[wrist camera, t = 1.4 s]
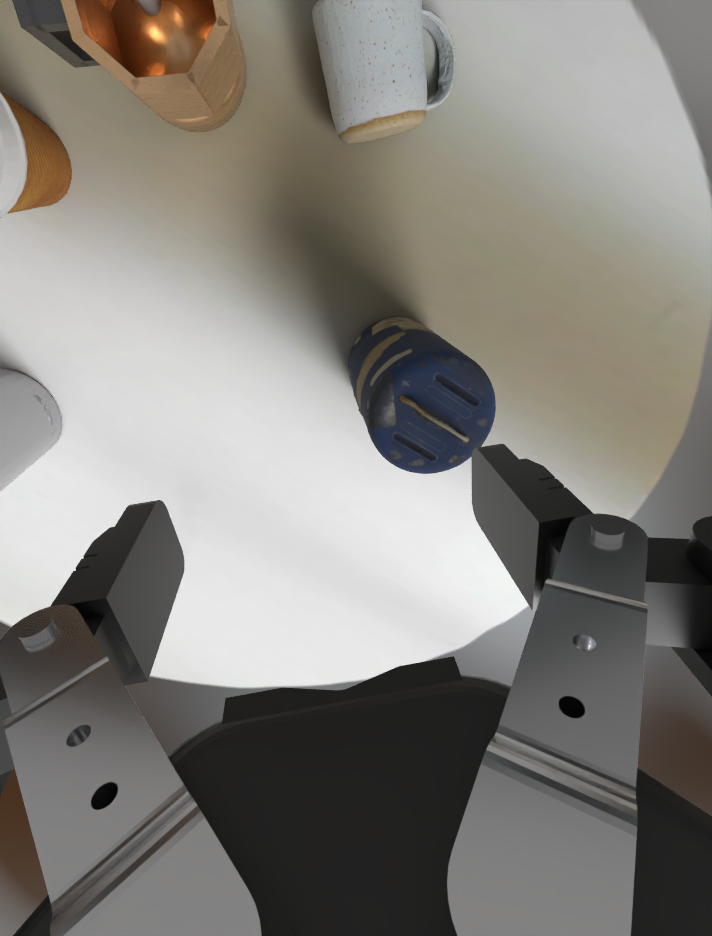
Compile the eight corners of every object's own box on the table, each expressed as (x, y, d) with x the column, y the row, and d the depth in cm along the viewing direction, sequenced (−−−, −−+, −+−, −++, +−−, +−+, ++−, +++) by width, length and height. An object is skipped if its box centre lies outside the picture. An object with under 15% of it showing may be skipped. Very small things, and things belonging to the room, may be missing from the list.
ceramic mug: (334, 154, 39) (344, 137, 32) (308, 28, 35) (313, -22, 28) (455, 123, 39) (490, 100, 32) (442, -5, 35) (479, -63, 29)
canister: (386, 423, 51) (427, 511, 35) (326, 361, 47) (341, 426, 31) (455, 363, 48) (533, 427, 32) (398, 292, 45) (454, 324, 29)
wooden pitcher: (113, 141, 37) (39, 103, 26) (72, -5, 33) (-35, -119, 22) (256, 126, 38) (240, 83, 27) (232, -19, 34) (202, -137, 23)
